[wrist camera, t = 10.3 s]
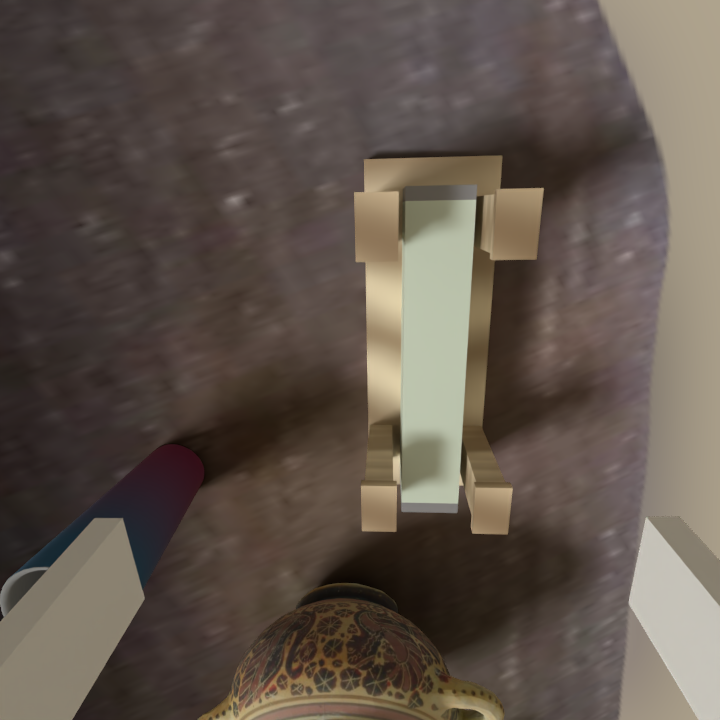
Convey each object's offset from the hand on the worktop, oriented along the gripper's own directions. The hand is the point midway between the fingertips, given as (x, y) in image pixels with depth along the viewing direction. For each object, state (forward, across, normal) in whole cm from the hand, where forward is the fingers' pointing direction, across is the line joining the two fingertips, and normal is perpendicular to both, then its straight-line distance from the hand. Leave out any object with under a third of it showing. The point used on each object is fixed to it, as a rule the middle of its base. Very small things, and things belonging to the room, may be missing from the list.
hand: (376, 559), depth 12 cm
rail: (+23, +3, -2) cm, 23 cm away
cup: (+24, -18, -13) cm, 33 cm away
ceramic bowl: (+24, -4, -29) cm, 38 cm away
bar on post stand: (+24, +3, -1) cm, 24 cm away
